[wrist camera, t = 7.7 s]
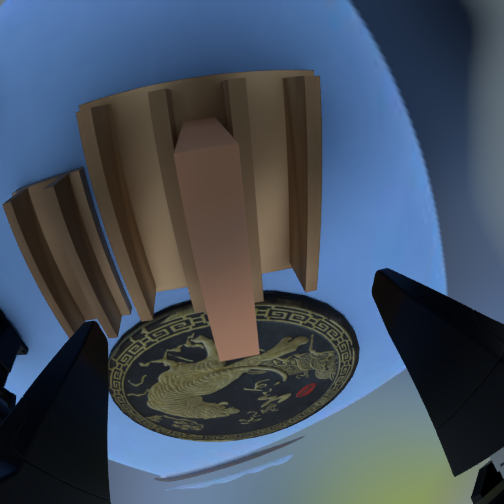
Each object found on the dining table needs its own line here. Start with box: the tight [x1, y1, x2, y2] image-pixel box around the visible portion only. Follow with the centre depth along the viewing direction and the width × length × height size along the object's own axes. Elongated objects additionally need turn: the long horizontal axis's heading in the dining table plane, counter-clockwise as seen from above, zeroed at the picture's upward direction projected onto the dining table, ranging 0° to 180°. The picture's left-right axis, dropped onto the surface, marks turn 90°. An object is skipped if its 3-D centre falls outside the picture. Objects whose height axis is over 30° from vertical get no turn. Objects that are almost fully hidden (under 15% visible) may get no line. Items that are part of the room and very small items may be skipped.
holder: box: [3, 167, 132, 339], centre depth 17 cm, size 6×12×3 cm, turn 5°
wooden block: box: [174, 117, 260, 362], centre depth 14 cm, size 2×9×9 cm, turn 4°
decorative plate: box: [108, 291, 360, 442], centre depth 31 cm, size 30×2×30 cm
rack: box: [76, 70, 322, 321], centre depth 16 cm, size 14×14×4 cm
